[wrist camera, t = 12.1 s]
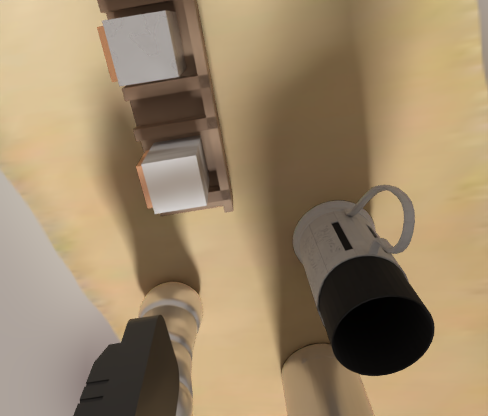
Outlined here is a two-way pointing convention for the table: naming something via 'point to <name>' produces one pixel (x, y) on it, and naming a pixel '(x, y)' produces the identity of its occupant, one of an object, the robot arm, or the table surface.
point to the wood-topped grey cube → (143, 47)
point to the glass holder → (363, 286)
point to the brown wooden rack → (178, 121)
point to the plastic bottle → (178, 330)
